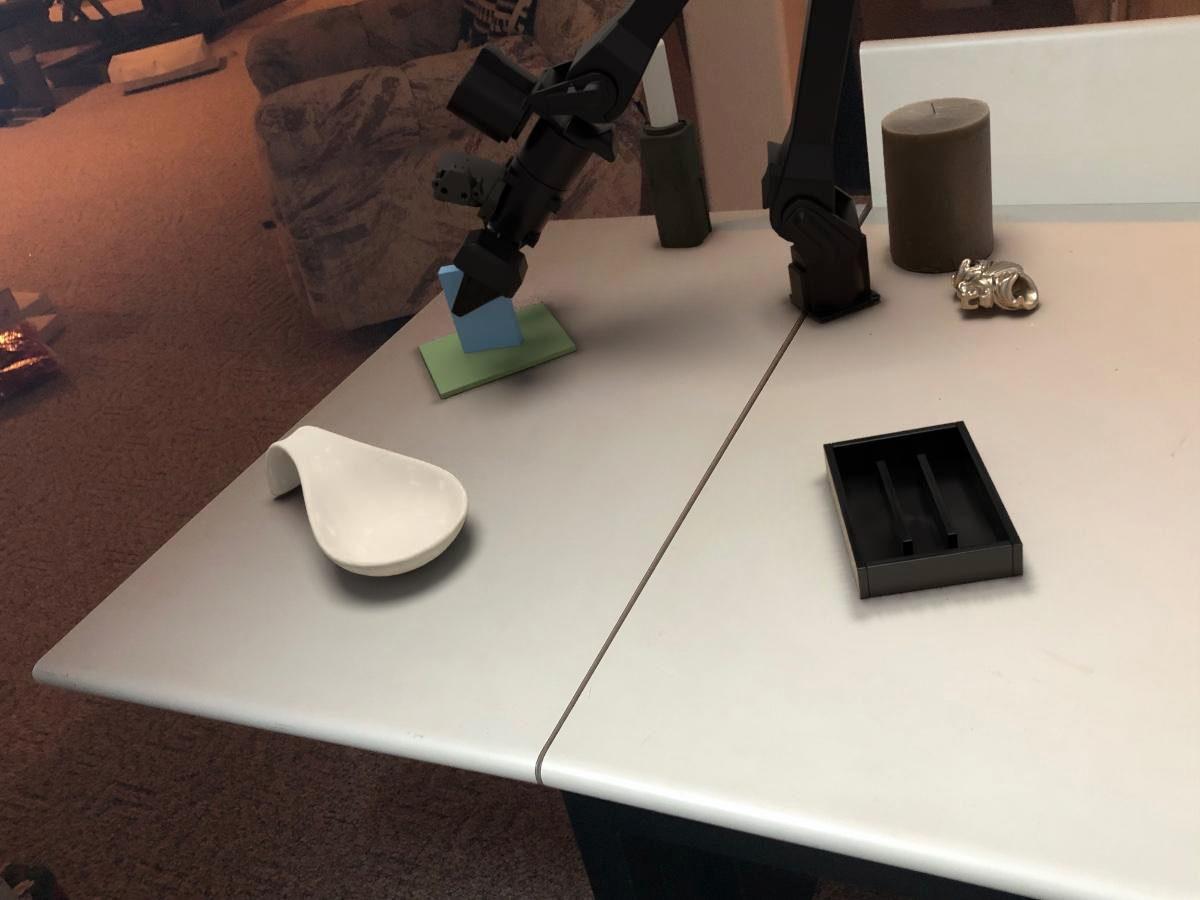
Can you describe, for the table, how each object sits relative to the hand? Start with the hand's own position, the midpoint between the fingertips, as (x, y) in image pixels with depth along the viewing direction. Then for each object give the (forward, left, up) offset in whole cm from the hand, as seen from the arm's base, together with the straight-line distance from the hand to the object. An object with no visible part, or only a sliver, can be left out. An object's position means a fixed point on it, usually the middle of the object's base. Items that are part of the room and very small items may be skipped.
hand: (464, 295), depth 107 cm
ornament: (-42, +25, -7) cm, 49 cm away
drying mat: (-1, +1, -6) cm, 7 cm away
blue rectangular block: (-1, +1, -6) cm, 6 cm away
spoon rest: (+16, +23, -7) cm, 29 cm away
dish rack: (-20, +48, -6) cm, 52 cm away
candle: (-27, -10, -7) cm, 30 cm away
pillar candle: (-45, +13, -7) cm, 47 cm away
